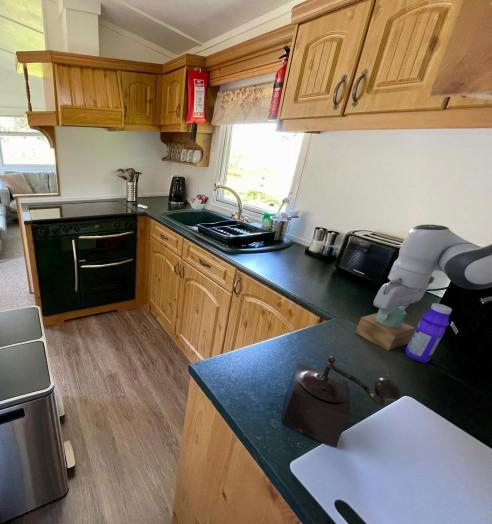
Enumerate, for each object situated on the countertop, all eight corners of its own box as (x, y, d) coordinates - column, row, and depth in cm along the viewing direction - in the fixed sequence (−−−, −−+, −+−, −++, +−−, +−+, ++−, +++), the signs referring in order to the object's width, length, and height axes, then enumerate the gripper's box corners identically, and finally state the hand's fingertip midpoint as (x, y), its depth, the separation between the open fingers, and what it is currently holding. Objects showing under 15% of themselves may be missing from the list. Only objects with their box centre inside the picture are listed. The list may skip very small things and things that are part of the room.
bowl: (404, 326, 92) (411, 312, 90) (393, 330, 89) (399, 316, 87) (382, 315, 97) (388, 302, 95) (370, 319, 94) (376, 305, 93)
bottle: (405, 346, 91) (429, 298, 85) (429, 356, 88) (456, 306, 81) (402, 356, 87) (428, 306, 80) (428, 367, 83) (456, 315, 77)
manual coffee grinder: (279, 425, 61) (303, 357, 55) (285, 391, 70) (306, 329, 63) (368, 467, 54) (407, 395, 47) (362, 424, 63) (394, 358, 56)
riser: (407, 343, 93) (415, 328, 91) (388, 350, 89) (395, 334, 87) (374, 326, 102) (380, 312, 99) (355, 332, 97) (361, 317, 95)
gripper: (401, 285, 80) (382, 327, 85) (437, 277, 89) (418, 316, 94) (376, 276, 86) (360, 316, 91) (413, 269, 94) (396, 306, 99)
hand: (390, 316), depth 92 cm, fingers closed on bowl, 6 cm apart
